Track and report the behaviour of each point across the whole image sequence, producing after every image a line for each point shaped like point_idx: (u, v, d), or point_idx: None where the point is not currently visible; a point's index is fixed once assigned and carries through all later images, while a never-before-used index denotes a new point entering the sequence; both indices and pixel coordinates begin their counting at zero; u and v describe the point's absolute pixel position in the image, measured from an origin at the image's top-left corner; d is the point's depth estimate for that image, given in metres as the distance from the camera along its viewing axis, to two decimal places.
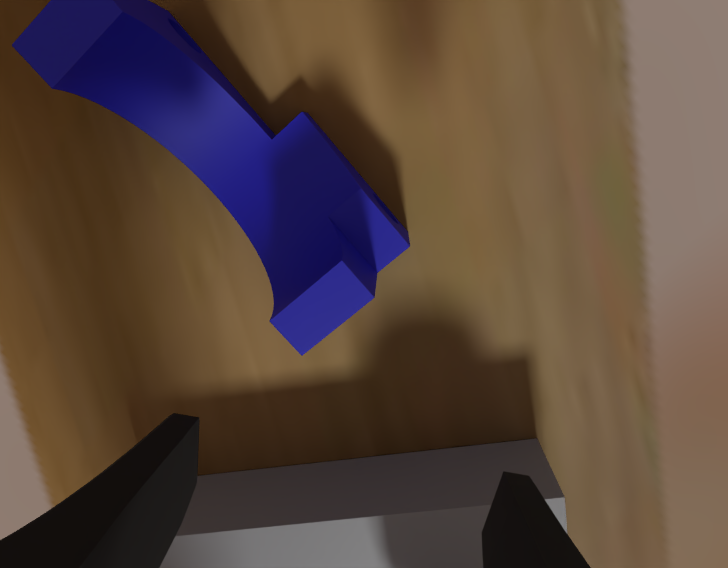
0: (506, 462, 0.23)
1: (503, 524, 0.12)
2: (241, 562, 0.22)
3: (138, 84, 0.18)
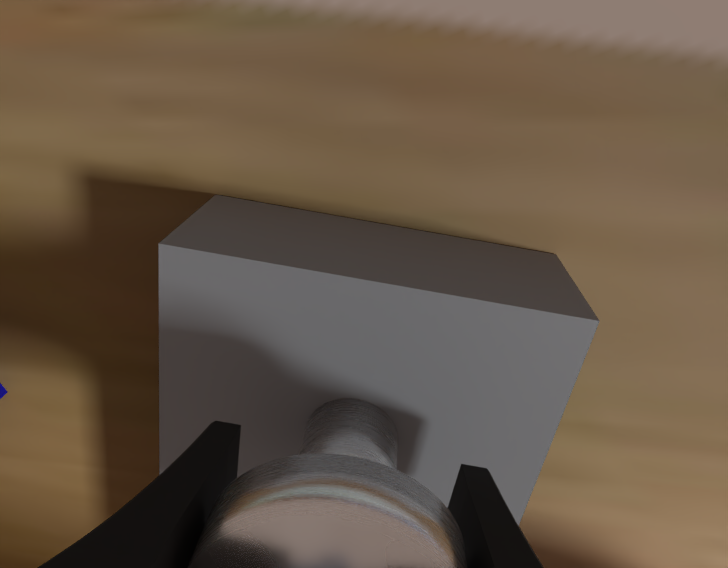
0: None
1: (459, 516, 0.12)
2: None
3: None
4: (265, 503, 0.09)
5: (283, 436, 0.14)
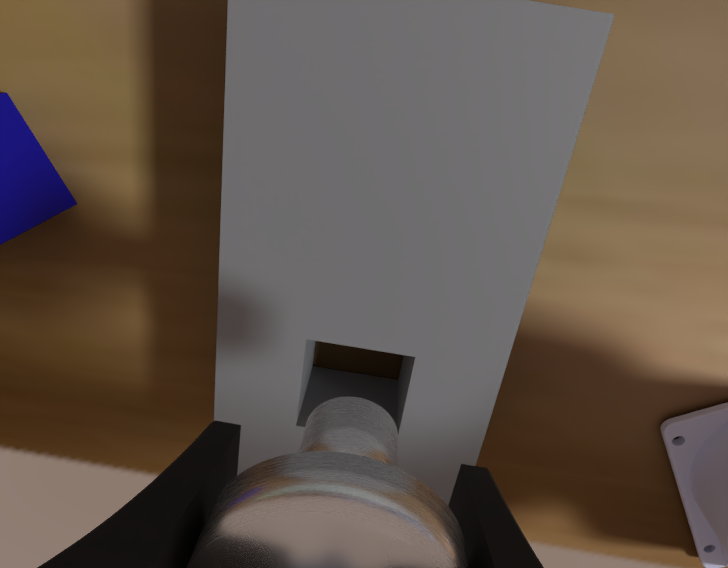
0: None
1: (459, 516, 0.12)
2: (257, 369, 0.19)
3: None
4: (266, 500, 0.09)
5: (334, 160, 0.16)
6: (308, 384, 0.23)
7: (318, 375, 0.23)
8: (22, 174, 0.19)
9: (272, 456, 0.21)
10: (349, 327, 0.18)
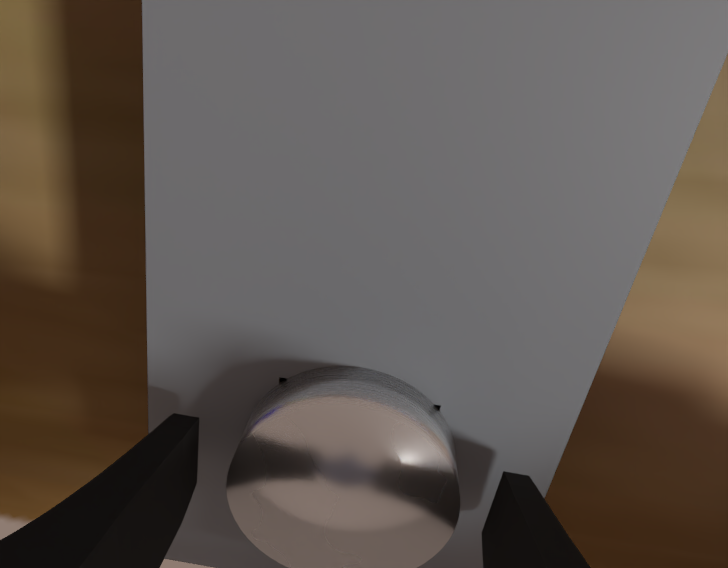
0: None
1: (503, 524, 0.12)
2: (209, 418, 0.13)
3: None
4: (298, 398, 0.12)
5: (321, 99, 0.10)
6: None
7: None
8: None
9: (233, 535, 0.15)
10: (343, 361, 0.12)
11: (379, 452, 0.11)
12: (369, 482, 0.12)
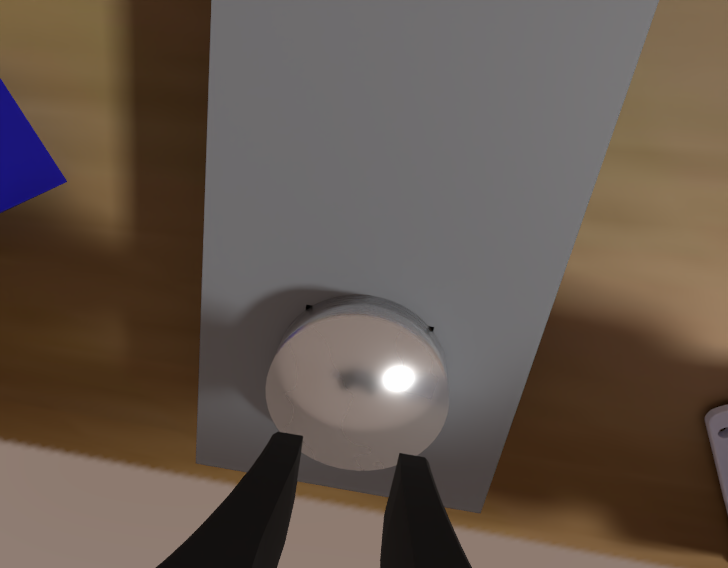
0: None
1: (394, 505, 0.12)
2: (249, 340, 0.17)
3: None
4: (322, 316, 0.15)
5: (343, 81, 0.13)
6: None
7: None
8: (3, 145, 0.17)
9: (265, 443, 0.18)
10: (357, 290, 0.16)
11: (386, 357, 0.15)
12: (378, 382, 0.15)
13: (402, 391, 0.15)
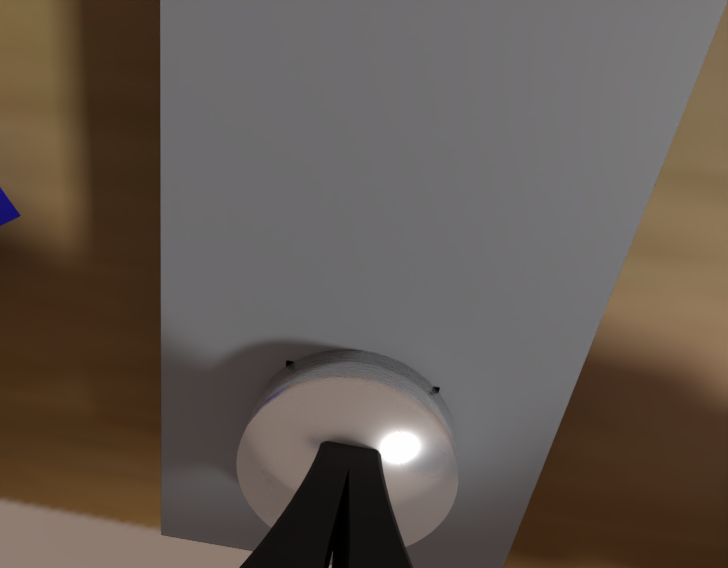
0: None
1: (343, 496, 0.12)
2: (219, 400, 0.14)
3: None
4: (304, 379, 0.12)
5: (328, 95, 0.11)
6: None
7: None
8: None
9: (241, 514, 0.16)
10: (347, 344, 0.13)
11: (381, 429, 0.12)
12: None
13: (401, 469, 0.13)
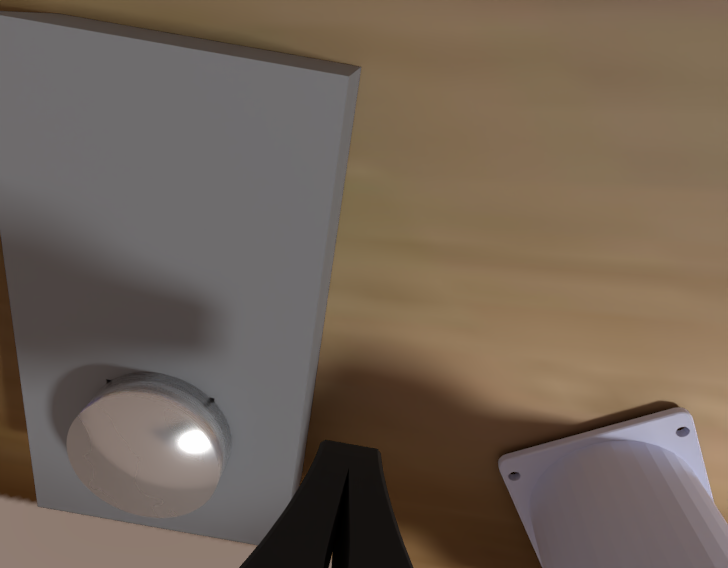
0: None
1: (343, 496, 0.12)
2: (64, 407, 0.20)
3: None
4: (108, 393, 0.18)
5: (104, 209, 0.16)
6: None
7: None
8: None
9: None
10: (146, 368, 0.19)
11: (159, 428, 0.18)
12: (157, 447, 0.18)
13: (178, 455, 0.18)
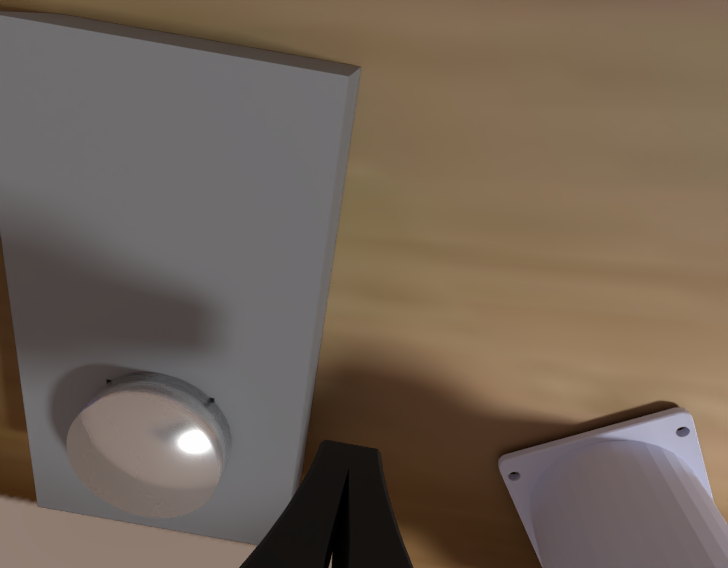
0: None
1: (343, 496, 0.12)
2: (64, 407, 0.20)
3: None
4: (108, 393, 0.18)
5: (104, 209, 0.16)
6: None
7: None
8: None
9: None
10: (146, 368, 0.19)
11: (159, 428, 0.18)
12: (157, 447, 0.18)
13: (178, 455, 0.18)
